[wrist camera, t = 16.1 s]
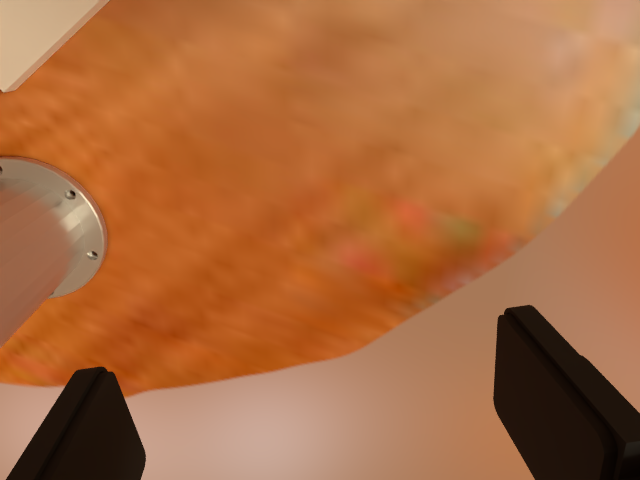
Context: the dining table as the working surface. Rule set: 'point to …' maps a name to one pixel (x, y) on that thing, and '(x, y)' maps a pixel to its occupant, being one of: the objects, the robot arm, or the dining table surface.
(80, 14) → the post block
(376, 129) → the dining table surface
